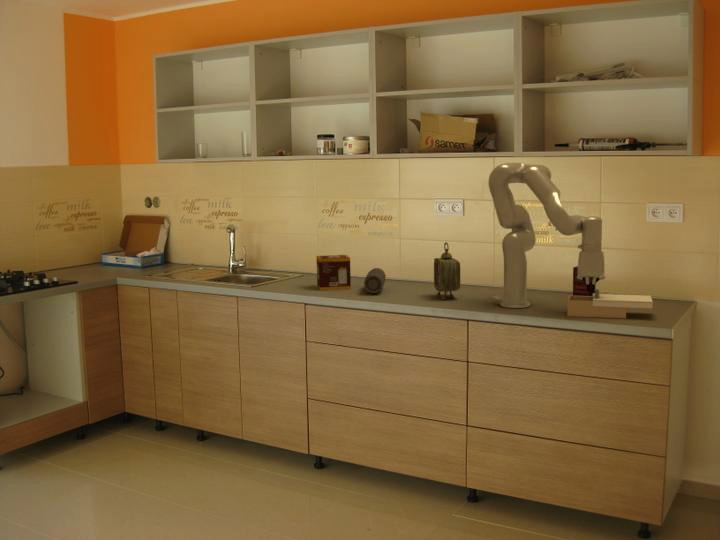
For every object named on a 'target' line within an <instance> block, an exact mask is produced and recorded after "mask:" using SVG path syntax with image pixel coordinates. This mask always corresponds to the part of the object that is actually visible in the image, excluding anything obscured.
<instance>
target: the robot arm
mask: <svg viewBox="0 0 720 540" xmlns="http://www.w3.org/2000/svg"><path fill="white" fill-rule="evenodd" d="M517 183H518V184H525V185H526V186H527V187H528V188H529V189H530V191H531V192H532V193H533V194H534V195H535V197H536V198H537V199H538V201H539V202H540V204H541V205H542V206H543V209H544V213H545V214H546V216H547V219H548V220H549V221H550V223H551V224H552V225H553V226H554V228H555V229H556V230H557V231H558V232H559V233H560V234H561V235H562V236H567V237H568V236H574V235H578V234H581V244H577V249H579V250H580V251H579V253H578V258H577V260H578V261H577V266H578V275H577V279H581V280H583V281H584V282H585V283H586V284H587V292H588V294H590V282H589V277H593V280H592V282H591V294H593V292H594V287H595V283H596V284H597V283H598V282H599V281H602V280H605V279H606V277H605V268H606V267H605V254H604V253H605V252H604V251H603V250H602V242H603V241H602V240H603V238H602V237H603V236H602V235H603V219H602V218H601V217H600V216H584V215H576V214H573V215H570V214H569V213H568V212H567V211H566V210H565V208H564V207H563V205H562V203H561V192H560V190H559V188H558V187H557V186H556V185H555V184H554V182H553V181H552V173H551V170H550V169H549V167H548V166H545V165H543V164H534V163H525V162H524V163H523V162H505V163H500V164H498V165H497V166H496V167H494V168H493V169H492V171H491V172H490V174H489V177H488V190H489V193H490V195H491V198H492V202H493V205H494V209H495V213H496V216H497V220H498V224H499V226H501V228H503V229H507V230H508V229H509V230H510V229H511V231H510V232H508V233H507V234H505V236H504V237H503V239H502V242H501V249H502V255H503V293H502V294H500V295H492V300H493V301H500V302H499V306H500V307H502V308H507V309H525V308H526V309H527V308H528V307H530V306H531V302H529V301H527V284H528V283H527V281H528V278H527V275H528V262H527V261H528V260H527V256H526V252H529V251H530V250H532V249H534V247H535V246H536V240H537V239H536V235H535V232H534V231H535V230H534V227H533V223H532V220H531V217H530V214H529V212H528V210H527V208H525V207H524V206H523V205H520V204H516V201H515V198H514V194H513V192H512V190H511V189H510V186H509V184H517Z"/></svg>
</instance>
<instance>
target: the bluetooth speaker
mask: <svg viewBox="0 0 720 540" xmlns="http://www.w3.org/2000/svg"><path fill="white" fill-rule="evenodd" d="M386 279H387V278H386V273H385V271H384V270H383V269H382V268H379V267H375V268H372V269H371V270H369V271H368V273H367V275H366V276H365V278H364V280H363V281H364V282H363V286H364V288H365V290H366V291H367V292H369V293H370V294H379V292H380V291H381V290H382V288H383V287H384V285H385V282H386Z"/></svg>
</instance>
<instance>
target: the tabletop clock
mask: <svg viewBox="0 0 720 540" xmlns="http://www.w3.org/2000/svg"><path fill="white" fill-rule="evenodd" d="M449 246H450V245H449V243H448V242H447V241H446V242H444V244H443V247H444V252H443V253H442V254H441V255H440V257H434V258H433V259H434V261H433V283H434V289H435V290H436V291H437V293H436V295H437V296H438V297H439V296H440V295H441V293H442V292H444V293H443V296H442V297H441V300H442V301H445V300H447V299H446V294H447V293H448V292H449V298H454V295H453V294H452V292H456V291H458V290H461V289H460V288H461V263H460V261H459V260H457V259H456V258H453V255H452V254H451V253H450V252H449ZM446 247H447V248H446Z"/></svg>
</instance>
